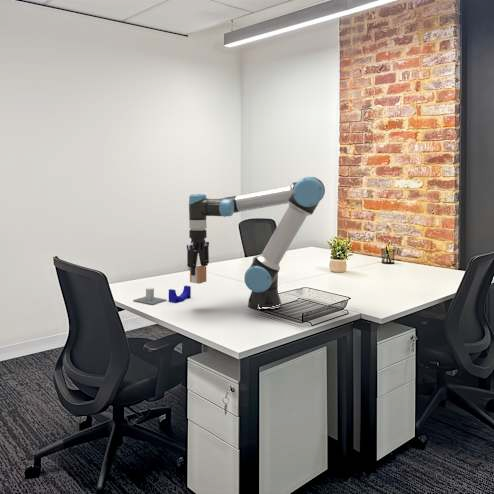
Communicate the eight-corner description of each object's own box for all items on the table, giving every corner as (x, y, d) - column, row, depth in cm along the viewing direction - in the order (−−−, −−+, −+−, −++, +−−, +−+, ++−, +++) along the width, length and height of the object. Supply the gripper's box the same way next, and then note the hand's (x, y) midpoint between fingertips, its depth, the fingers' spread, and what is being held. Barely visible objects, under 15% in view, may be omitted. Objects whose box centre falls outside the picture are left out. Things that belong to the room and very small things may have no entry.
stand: (166, 300, 249) (166, 288, 248) (152, 305, 241) (152, 292, 240) (147, 297, 255) (147, 285, 255) (133, 301, 247) (132, 288, 246)
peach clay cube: (206, 281, 234) (206, 266, 233) (199, 283, 230) (199, 268, 229) (197, 280, 237) (197, 265, 236) (189, 282, 233) (189, 267, 232)
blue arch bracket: (175, 303, 245) (175, 291, 244) (168, 302, 248) (168, 289, 247) (192, 298, 255) (193, 286, 254) (186, 297, 257) (186, 285, 256)
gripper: (203, 227, 240) (203, 276, 243) (177, 230, 224) (178, 283, 228) (216, 227, 236) (217, 278, 239) (191, 231, 220) (192, 285, 224)
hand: (198, 281), depth 233 cm, fingers closed on peach clay cube, 5 cm apart
